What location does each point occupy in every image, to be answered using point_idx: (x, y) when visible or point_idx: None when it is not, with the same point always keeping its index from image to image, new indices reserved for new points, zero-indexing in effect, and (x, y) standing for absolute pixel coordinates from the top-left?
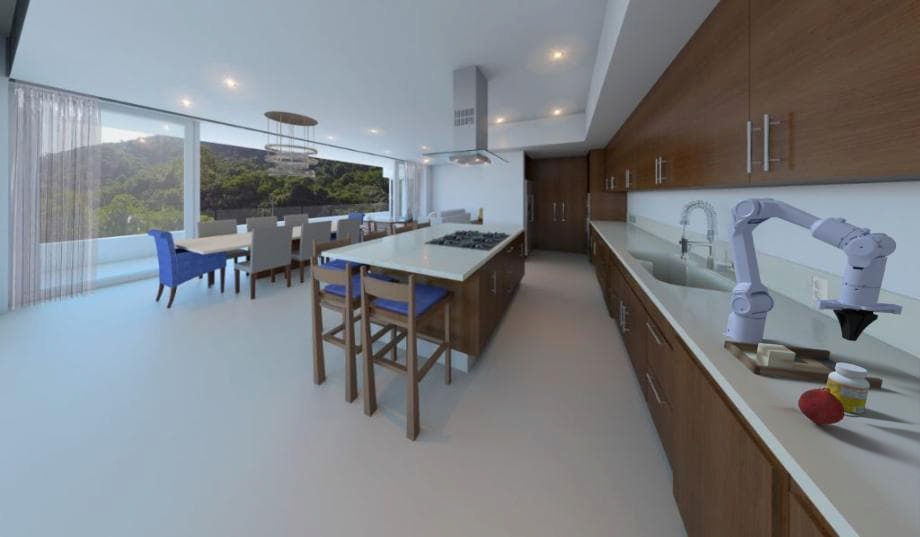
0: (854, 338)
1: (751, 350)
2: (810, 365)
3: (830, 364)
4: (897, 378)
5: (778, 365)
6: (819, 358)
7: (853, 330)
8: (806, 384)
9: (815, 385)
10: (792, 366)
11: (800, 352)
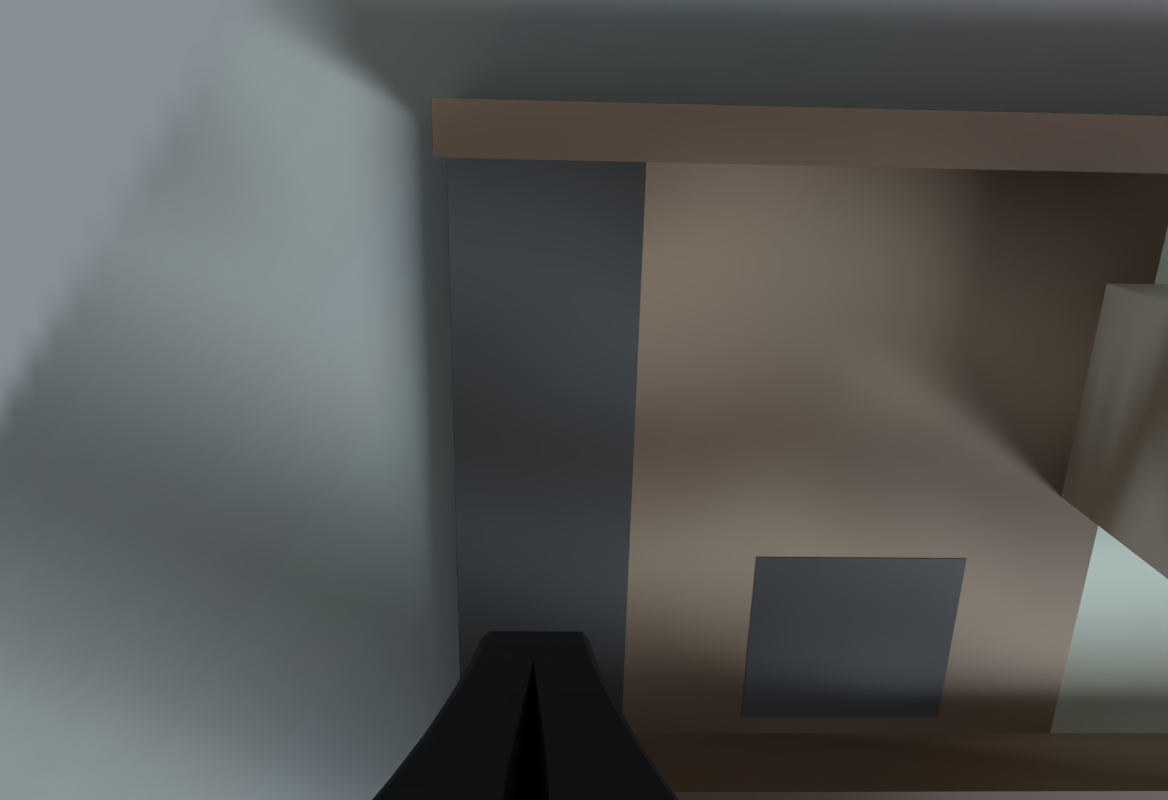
0: (525, 647)
1: (1128, 737)
2: (772, 515)
3: (544, 594)
4: (61, 496)
5: None
6: None
7: (586, 750)
8: (1072, 98)
9: (993, 98)
10: (1160, 296)
11: (709, 761)
